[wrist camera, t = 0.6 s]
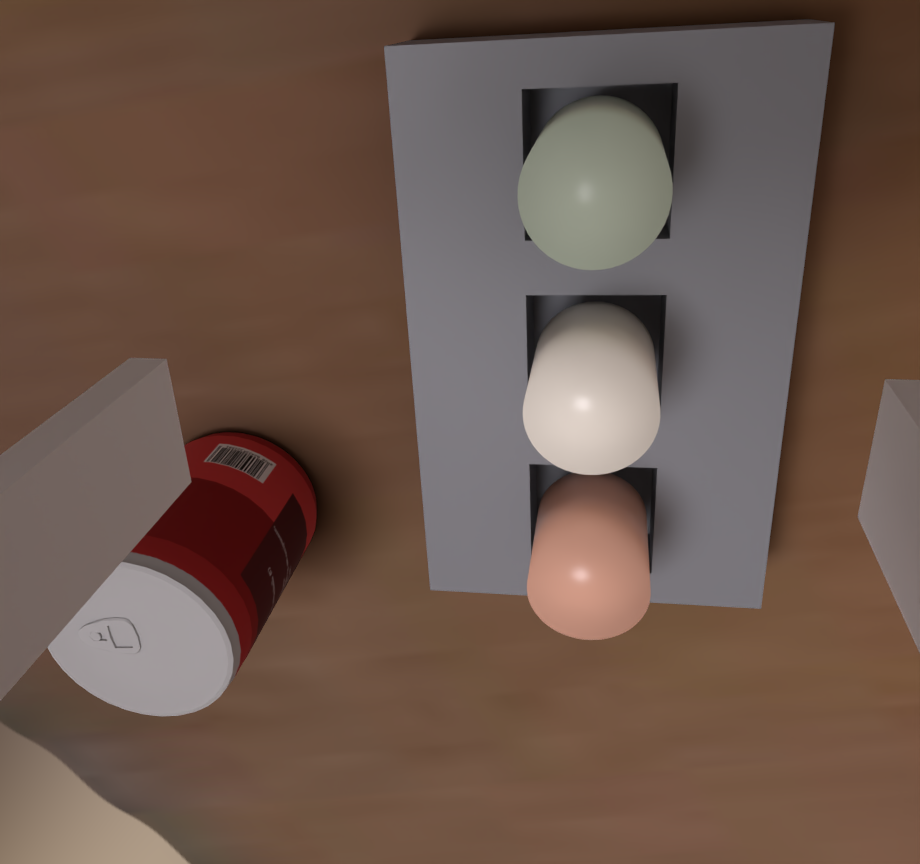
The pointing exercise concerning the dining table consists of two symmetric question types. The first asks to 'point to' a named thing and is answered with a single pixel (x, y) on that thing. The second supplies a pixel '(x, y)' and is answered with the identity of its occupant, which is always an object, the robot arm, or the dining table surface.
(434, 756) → the dining table surface
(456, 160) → the console
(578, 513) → the button terracotta
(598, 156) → the button sage
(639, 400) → the button cream
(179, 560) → the canned food
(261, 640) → the dining table surface
